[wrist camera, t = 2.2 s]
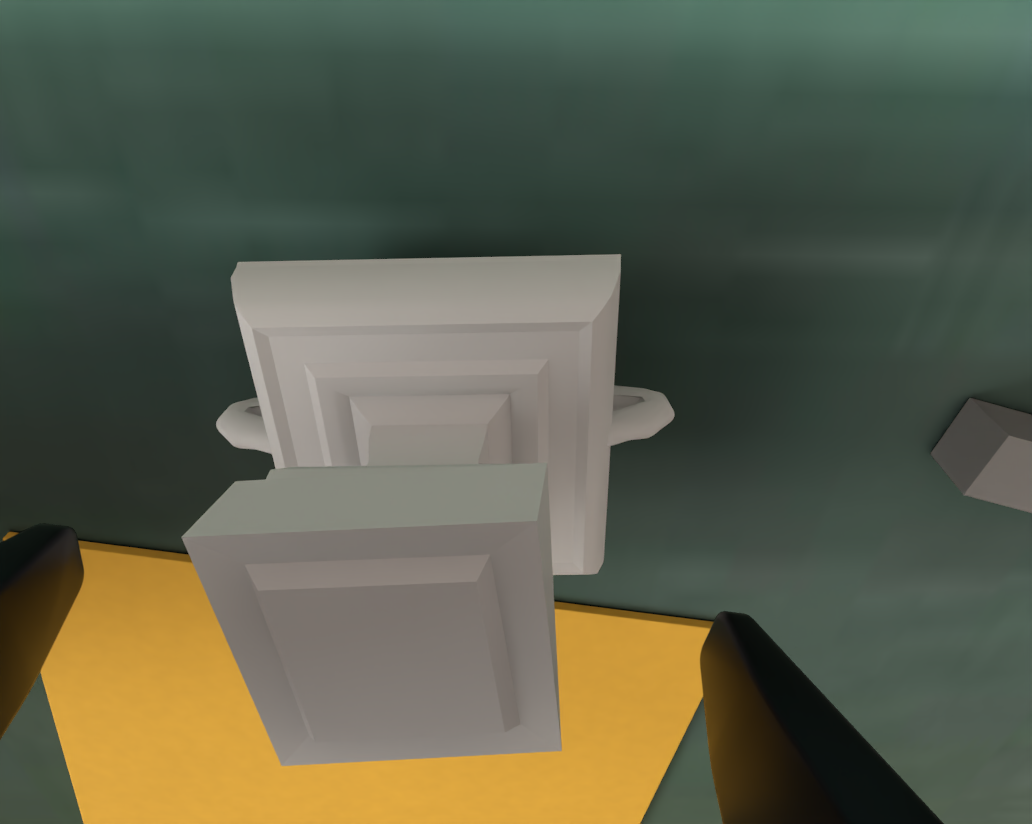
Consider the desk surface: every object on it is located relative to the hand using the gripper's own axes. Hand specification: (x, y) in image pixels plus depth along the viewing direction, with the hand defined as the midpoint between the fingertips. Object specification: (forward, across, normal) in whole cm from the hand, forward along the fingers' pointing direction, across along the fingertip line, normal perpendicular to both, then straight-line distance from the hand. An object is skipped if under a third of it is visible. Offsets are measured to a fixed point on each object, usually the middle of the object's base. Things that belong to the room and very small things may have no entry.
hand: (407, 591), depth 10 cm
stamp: (+7, 0, 0) cm, 7 cm away
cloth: (+7, +1, +14) cm, 16 cm away
